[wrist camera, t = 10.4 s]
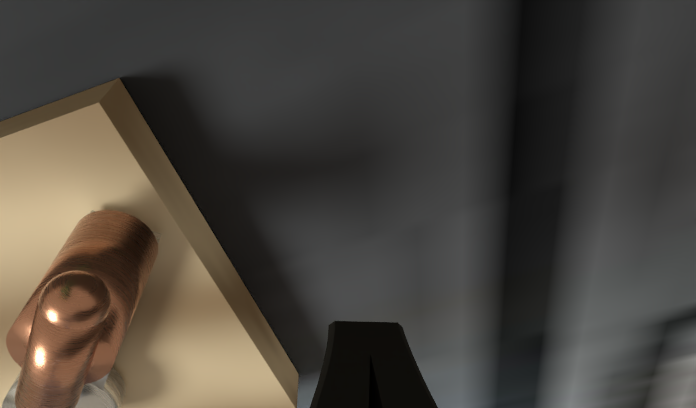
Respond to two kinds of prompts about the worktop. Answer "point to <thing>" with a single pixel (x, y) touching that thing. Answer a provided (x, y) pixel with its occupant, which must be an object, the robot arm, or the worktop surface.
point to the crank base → (168, 270)
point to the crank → (82, 315)
